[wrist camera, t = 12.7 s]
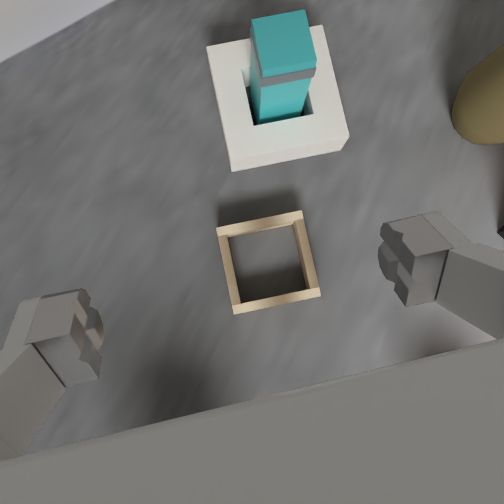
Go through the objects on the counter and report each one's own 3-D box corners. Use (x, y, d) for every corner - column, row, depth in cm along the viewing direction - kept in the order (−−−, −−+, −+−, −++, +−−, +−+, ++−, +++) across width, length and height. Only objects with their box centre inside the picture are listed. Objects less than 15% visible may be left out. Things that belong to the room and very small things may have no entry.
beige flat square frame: (234, 313, 38) (233, 314, 35) (217, 231, 38) (215, 227, 36) (316, 295, 38) (321, 295, 36) (298, 214, 39) (301, 210, 37)
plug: (257, 133, 40) (262, 71, 29) (249, 93, 40) (249, 18, 29) (298, 124, 40) (318, 60, 29) (289, 85, 40) (306, 7, 29)
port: (231, 172, 39) (230, 160, 36) (209, 67, 40) (206, 46, 37) (340, 150, 39) (349, 136, 36) (315, 47, 41) (322, 24, 37)
